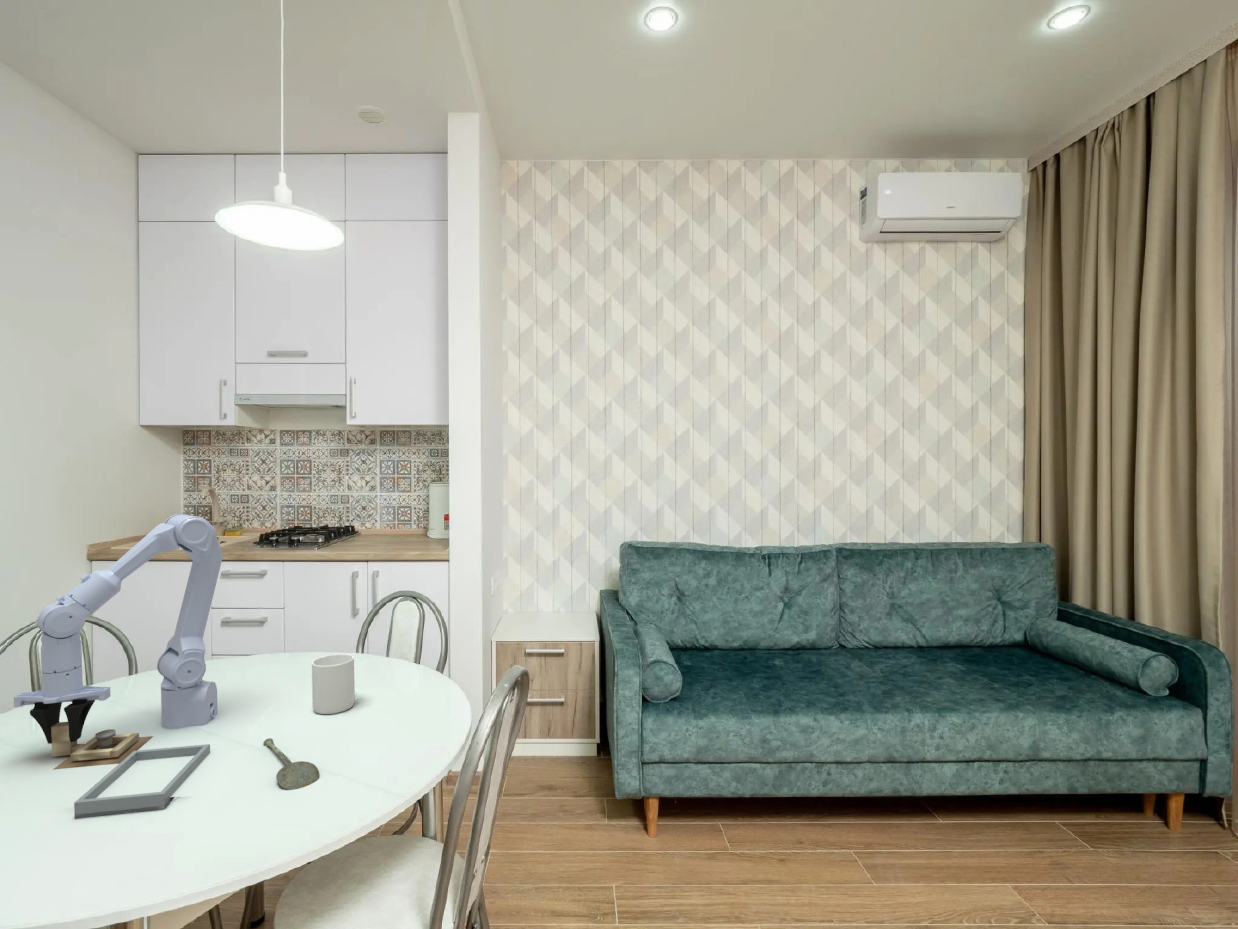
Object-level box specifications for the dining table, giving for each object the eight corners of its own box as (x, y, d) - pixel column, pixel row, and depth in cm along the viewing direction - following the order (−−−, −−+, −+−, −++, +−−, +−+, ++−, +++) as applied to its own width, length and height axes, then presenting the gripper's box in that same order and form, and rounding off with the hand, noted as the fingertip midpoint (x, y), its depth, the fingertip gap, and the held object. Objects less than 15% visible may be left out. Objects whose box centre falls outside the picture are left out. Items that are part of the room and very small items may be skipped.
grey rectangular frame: (210, 757, 121) (209, 744, 121) (164, 809, 104) (163, 794, 104) (134, 764, 119) (134, 750, 119) (74, 818, 101) (74, 802, 101)
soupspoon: (282, 801, 108) (323, 789, 113) (283, 781, 108) (324, 770, 113) (249, 751, 124) (286, 741, 129) (250, 733, 124) (287, 725, 129)
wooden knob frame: (139, 738, 126) (138, 711, 126) (117, 757, 118) (116, 727, 118) (68, 744, 123) (67, 716, 123) (41, 763, 116) (41, 733, 116)
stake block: (153, 741, 128) (153, 718, 128) (123, 768, 117) (122, 743, 117) (90, 746, 126) (89, 723, 125) (53, 774, 115) (52, 749, 115)
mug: (349, 692, 153) (348, 647, 153) (357, 709, 142) (356, 661, 142) (309, 700, 148) (308, 653, 148) (314, 718, 138) (313, 668, 138)
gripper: (0, 679, 114) (3, 754, 115) (93, 672, 117) (96, 746, 117) (28, 665, 121) (30, 736, 121) (115, 660, 124) (117, 729, 124)
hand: (64, 740), depth 120 cm, fingers closed on wooden knob frame, 3 cm apart
